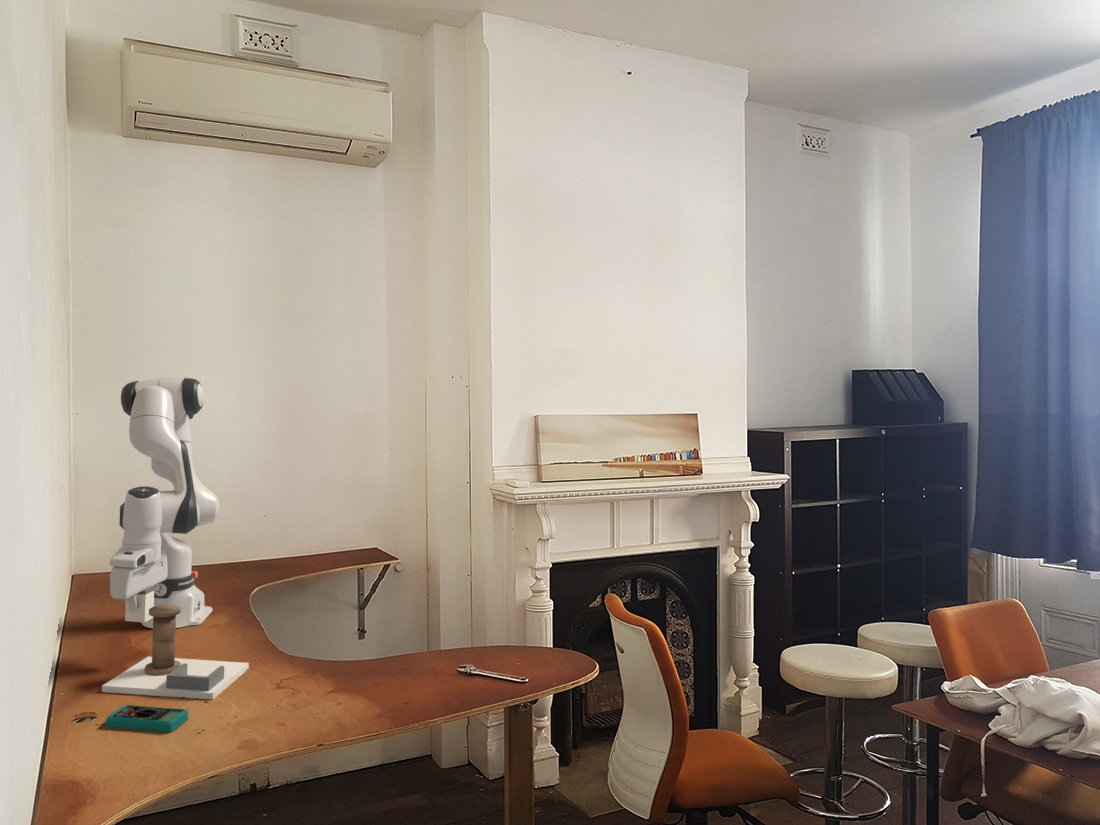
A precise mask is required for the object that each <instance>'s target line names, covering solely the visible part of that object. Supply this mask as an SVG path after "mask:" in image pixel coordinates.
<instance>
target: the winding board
mask: <svg viewBox="0 0 1100 825" xmlns="http://www.w3.org/2000/svg"><path fill="white" fill-rule="evenodd" d="M175 660H176V661H179V662H180V663H181V666H179V667H178V668H176V669H175V670H173V671H172V672H171V673H169V674H168V675H159V676H156V675H149V674H146V673H145V666H146V665H147V664H149V663H151V662H152V656H146V657H144V658H143V659H142V660H140V661H139V662H138V663H136V664H133V665H132V666H131V667H129V668H127V669H126V670H125V671H122V672H121V673H120V674H118V675H116V676H115V677H113V678H112V679H110V680H109V681H107V682H106V683H104V684H102V685H101V692H102V693H109V694H124V695H136V696H137V695H139V696H157V697H168V698H169V697H171V698H181V697H185V698H184V699H196V698H197V699H198V698H199V699H198V700H200V699H201V700H212V701H213V700H214V699H216V698H217V697H218V696H219V695H221V693H222V692H224V691H225V690H226V689H227V688H228V687H229V686H231V685H232V684H233V683H234V682H236V681H237V680H238V679H239V678H240V677H241V676H242V675H243V674H245V673H246V672H247V671H248V670H249V668H250V665H249V662H240V661H239V662H237V661H222V660H210V659H207V660H206V659H195V658H193V659H192V658H178V657H177V658H176V657H175ZM247 669H248V670H247ZM246 670H247V671H246ZM245 671H246V672H245ZM238 677H239V678H238ZM230 684H231V685H230ZM223 690H224V691H223Z"/></svg>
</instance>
